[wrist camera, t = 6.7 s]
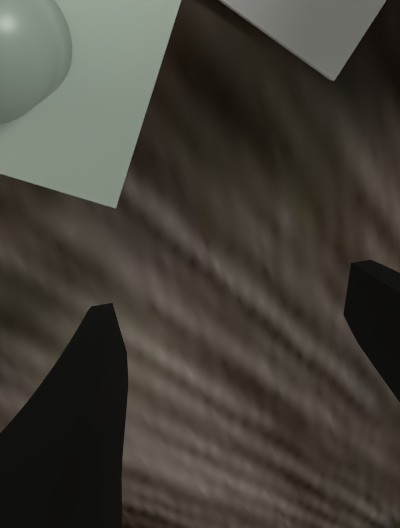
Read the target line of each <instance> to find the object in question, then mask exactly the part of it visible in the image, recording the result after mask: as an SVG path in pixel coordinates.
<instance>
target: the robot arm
mask: <svg viewBox="0 0 400 528" xmlns="http://www.w3.org/2000/svg"><path fill="white" fill-rule="evenodd" d="M344 317H345V319H346V321H347V323H348V325H349V327H350V329H351V331H352V333H353V335H354V336H355V338H356V340H357V342H358V344H359V345H360V347H361V348H362V350H363V351H364V352H365V354H366V355H367V357H368V358H369V360H370V361H371V363H372V364H373V365H374V367H375V368H376V370H377V371H378V372H379V374H380V375H381V377H382V378H383V379H384V381H385V382H386V384H387V385H388V386H389V388H390V389H391V391H392V392H393V394H394V395H395V396H396V398H397V399H398V401H399V402H400V273H399V272H397V271H395V270H393V269H390V268H388V267H386V266H384V265H382V264H379V263H377V262H375V261H372V260H367V261H361V262H355V263H351V267H350V274H349V281H348V288H347V295H346V302H345V309H344ZM127 394H128V367H127V352H126V349H125V345H124V342H123V338H122V335H121V331H120V328H119V324H118V321H117V317H116V314H115V311H114V307H113V304H112V303H110V304H104V305H98V306H92V307H91V308H90V309H89V310H88V312H87V313H86V315H85V317H84V319H83V320H82V322H81V324H80V325H79V327H78V329H77V331H76V332H75V334H74V336H73V337H72V339H71V340H70V342H69V344H68V345H67V347H66V348H65V350H64V351H63V353H62V354H61V356H60V358H59V359H58V361H57V362H56V364H55V365H54V367H53V368H52V369H51V371H50V372H49V374H48V375H47V376H46V378H45V379H44V380H43V382H42V383H41V385H40V386H39V387H38V389H37V390H36V391H35V393H34V394H33V395H32V397H31V398H30V399H29V400H28V402H27V403H26V404H25V405H24V407H23V408H22V409H21V410H20V411H19V413H18V414H17V415H16V416H15V417H14V418H13V420H12V421H11V422H10V423H9V424H8V425H7V427H6V428H5V429H4V430H3V431H2V432H1V433H0V528H122V481H121V475H122V455H123V443H124V431H125V419H126V407H127Z"/></svg>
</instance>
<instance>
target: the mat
mask: <svg viewBox="0 0 400 528" xmlns="http://www.w3.org/2000/svg"><path fill="white" fill-rule="evenodd" d="M219 1H220V2H221V3H223V4H224V5H226V6H227V7H228V8H230V9H231V10H233V11H234V12H235V13H237V14H238V15H240V16H241V17H242V18H244V19H245V20H247V21H248V22H249V23H251V24H252V25H254V26H255V27H256V28H258V29H259V30H261V31H262V32H263V33H265V34H266V35H268V36H269V37H270V38H272V39H273V40H275V41H276V42H277V43H279V44H280V45H282V46H283V47H284V48H286V49H287V50H288V51H290V52H291V53H293V54H294V55H295V56H297V57H298V58H300V59H301V60H302V61H304V62H305V63H307V64H308V65H309V66H311V67H312V68H314V69H315V70H316V71H318V72H319V73H321V74H322V75H323V76H325V77H326V78H328V79H329V80H332V81H335V79H336V78H337V76H338V74H339V73H340V71H341V70H342V68H343V67H344V65H345V64H346V62H347V60H348V59H349V57H350V56H351V54H352V53H353V51H354V50H355V48H356V47H357V45H358V43H359V42H360V40H361V39H362V37H363V36H364V34H365V33H366V31H367V30H368V28H369V26H370V25H371V23H372V22H373V20H374V19H375V17H376V16H377V14H378V12H379V11H380V9H381V8H382V6H383V5H384V3H385V2H386V0H219Z"/></svg>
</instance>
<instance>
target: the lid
mask: <svg viewBox="0 0 400 528" xmlns="http://www.w3.org/2000/svg"><path fill="white" fill-rule="evenodd" d="M180 3H181V0H0V174H3V175H6V176H9V177H13V178H16V179H19V180H23V181H26V182H29V183H33V184H36V185H39V186H43V187H46V188H49V189H53V190H56V191H59V192H63V193H66V194H69V195H73V196H76V197H79V198H83V199H86V200H89V201H93V202H96V203H99V204H102V205H106V206H109V207H112V208H116V206H117V203H118V200H119V197H120V193H121V190H122V187H123V184H124V181H125V178H126V174H127V171H128V168H129V165H130V162H131V158H132V155H133V152H134V149H135V146H136V143H137V139H138V136H139V133H140V130H141V127H142V123H143V120H144V117H145V114H146V111H147V108H148V104H149V101H150V98H151V95H152V92H153V88H154V85H155V82H156V79H157V76H158V73H159V69H160V66H161V63H162V60H163V57H164V53H165V50H166V47H167V44H168V41H169V38H170V34H171V31H172V28H173V25H174V22H175V18H176V15H177V12H178V9H179V6H180Z"/></svg>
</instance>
